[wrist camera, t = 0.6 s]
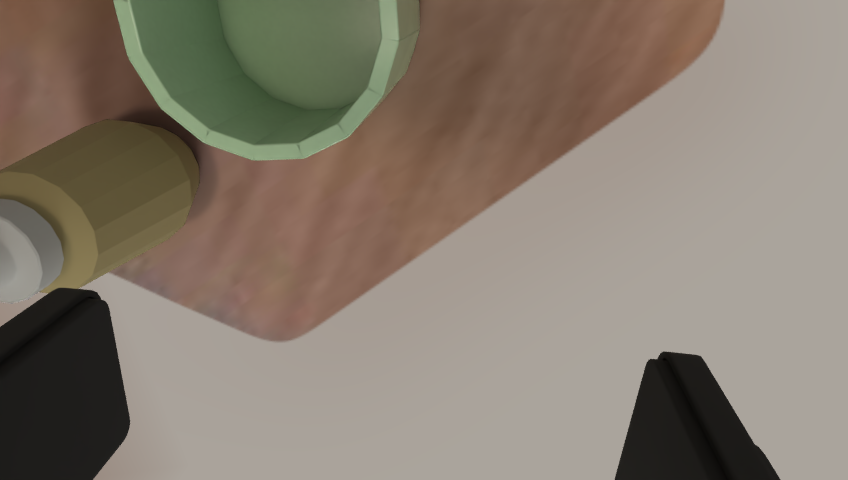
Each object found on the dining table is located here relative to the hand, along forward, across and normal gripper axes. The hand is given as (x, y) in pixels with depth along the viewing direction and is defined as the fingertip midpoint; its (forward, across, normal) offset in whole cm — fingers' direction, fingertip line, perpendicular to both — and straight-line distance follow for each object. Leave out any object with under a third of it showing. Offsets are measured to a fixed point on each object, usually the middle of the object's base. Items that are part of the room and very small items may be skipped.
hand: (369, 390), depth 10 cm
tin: (+27, +8, -5) cm, 29 cm away
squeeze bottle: (+27, +19, +6) cm, 34 cm away
